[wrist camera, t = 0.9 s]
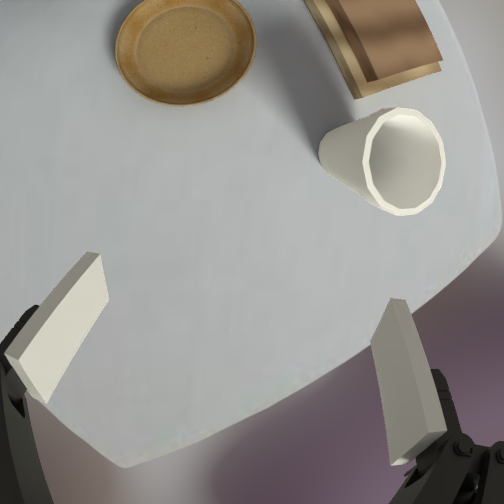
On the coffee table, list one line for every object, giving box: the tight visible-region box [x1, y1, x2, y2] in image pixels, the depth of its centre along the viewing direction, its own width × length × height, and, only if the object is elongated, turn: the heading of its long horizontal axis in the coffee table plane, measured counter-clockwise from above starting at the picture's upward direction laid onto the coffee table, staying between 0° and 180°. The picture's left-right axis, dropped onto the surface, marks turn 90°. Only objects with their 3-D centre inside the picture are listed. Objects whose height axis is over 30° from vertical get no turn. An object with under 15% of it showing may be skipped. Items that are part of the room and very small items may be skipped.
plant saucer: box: [115, 0, 257, 107], centre depth 28 cm, size 15×15×3 cm
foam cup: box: [318, 107, 446, 216], centre depth 30 cm, size 10×9×13 cm
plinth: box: [304, 0, 443, 99], centre depth 29 cm, size 15×15×4 cm
